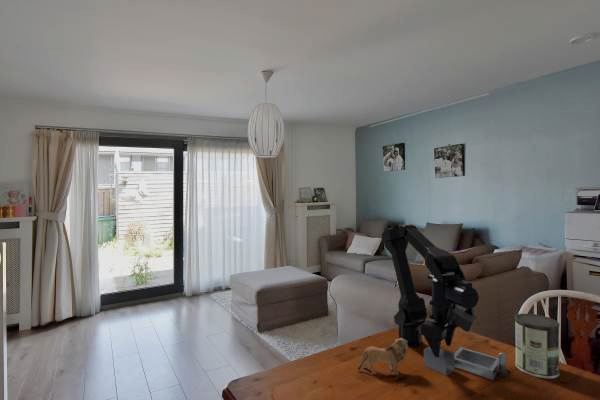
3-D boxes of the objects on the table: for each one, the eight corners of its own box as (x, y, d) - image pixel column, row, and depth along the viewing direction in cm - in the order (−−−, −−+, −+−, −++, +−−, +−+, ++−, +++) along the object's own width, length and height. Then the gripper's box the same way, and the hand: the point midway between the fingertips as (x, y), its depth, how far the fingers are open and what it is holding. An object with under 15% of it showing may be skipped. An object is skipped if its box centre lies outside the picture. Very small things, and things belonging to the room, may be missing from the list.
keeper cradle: (450, 365, 97) (450, 345, 97) (460, 354, 103) (460, 335, 103) (502, 383, 88) (502, 360, 87) (510, 369, 94) (510, 348, 94)
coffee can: (547, 361, 98) (547, 314, 98) (567, 380, 88) (567, 328, 88) (508, 358, 101) (508, 312, 100) (524, 377, 90) (524, 325, 90)
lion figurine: (404, 365, 98) (404, 334, 97) (411, 375, 92) (411, 342, 92) (355, 367, 97) (354, 336, 97) (359, 377, 91) (359, 344, 91)
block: (423, 365, 97) (423, 348, 97) (432, 361, 100) (432, 345, 99) (446, 376, 91) (445, 358, 91) (454, 371, 94) (454, 354, 94)
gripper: (461, 313, 84) (461, 374, 84) (482, 295, 97) (482, 348, 98) (418, 303, 92) (418, 359, 92) (443, 288, 105) (443, 337, 106)
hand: (442, 351), depth 97 cm, fingers open, 9 cm apart
